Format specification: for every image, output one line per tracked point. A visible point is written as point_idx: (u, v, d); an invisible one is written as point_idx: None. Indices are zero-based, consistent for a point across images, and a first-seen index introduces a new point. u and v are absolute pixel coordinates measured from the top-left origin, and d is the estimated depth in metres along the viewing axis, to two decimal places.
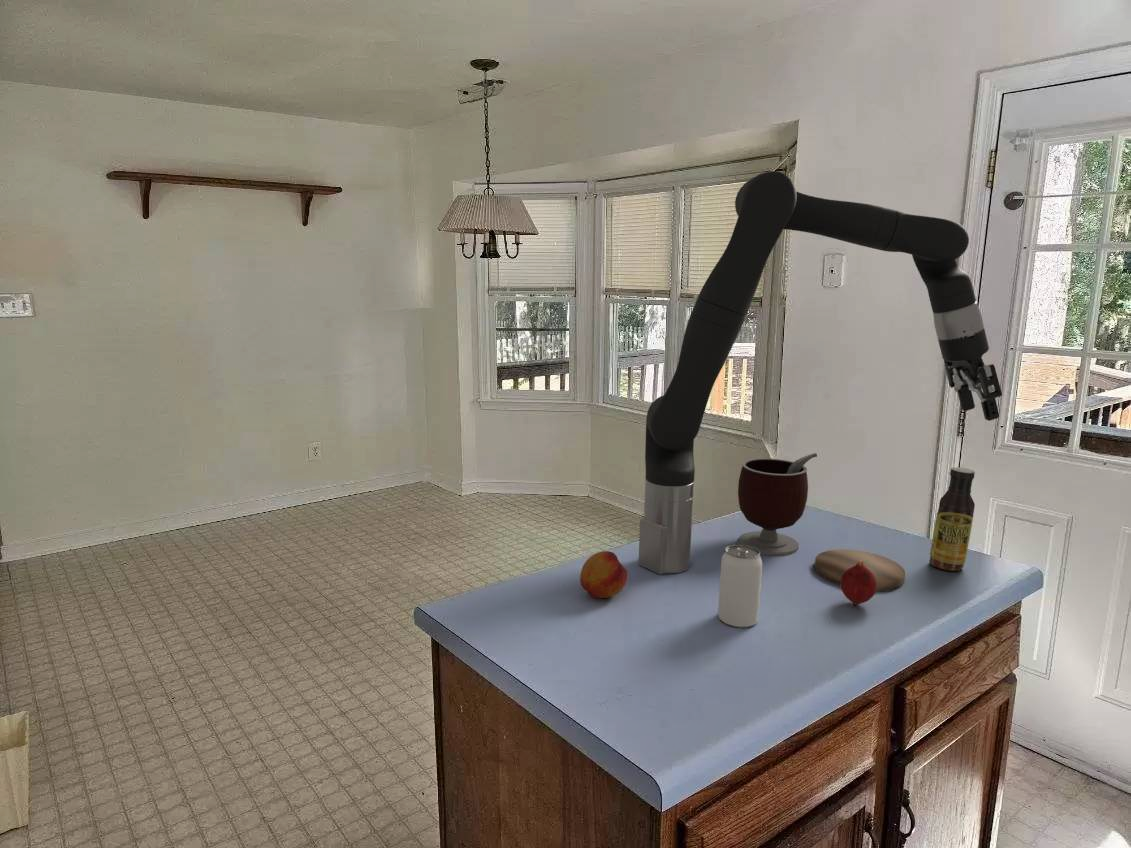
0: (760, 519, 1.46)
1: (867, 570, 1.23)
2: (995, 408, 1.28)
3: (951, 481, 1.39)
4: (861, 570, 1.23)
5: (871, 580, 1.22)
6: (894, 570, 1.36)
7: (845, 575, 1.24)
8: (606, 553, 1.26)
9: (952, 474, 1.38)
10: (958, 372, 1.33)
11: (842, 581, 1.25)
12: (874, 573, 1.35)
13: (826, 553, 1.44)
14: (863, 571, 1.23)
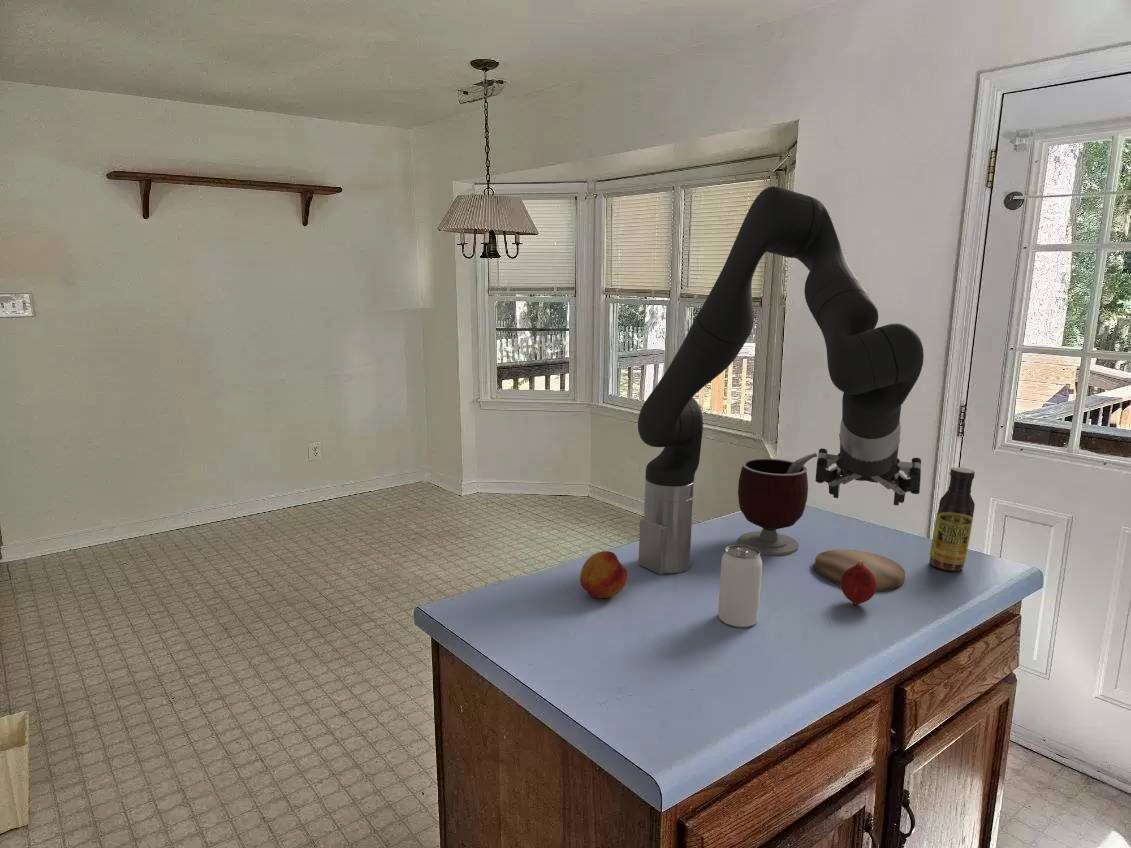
0: (760, 519, 1.46)
1: (867, 570, 1.23)
2: (829, 488, 1.11)
3: (951, 481, 1.39)
4: (861, 570, 1.23)
5: (871, 580, 1.22)
6: (894, 570, 1.36)
7: (845, 575, 1.24)
8: (606, 553, 1.26)
9: (952, 474, 1.38)
10: None
11: (842, 581, 1.25)
12: (874, 573, 1.35)
13: (826, 553, 1.44)
14: (863, 571, 1.23)
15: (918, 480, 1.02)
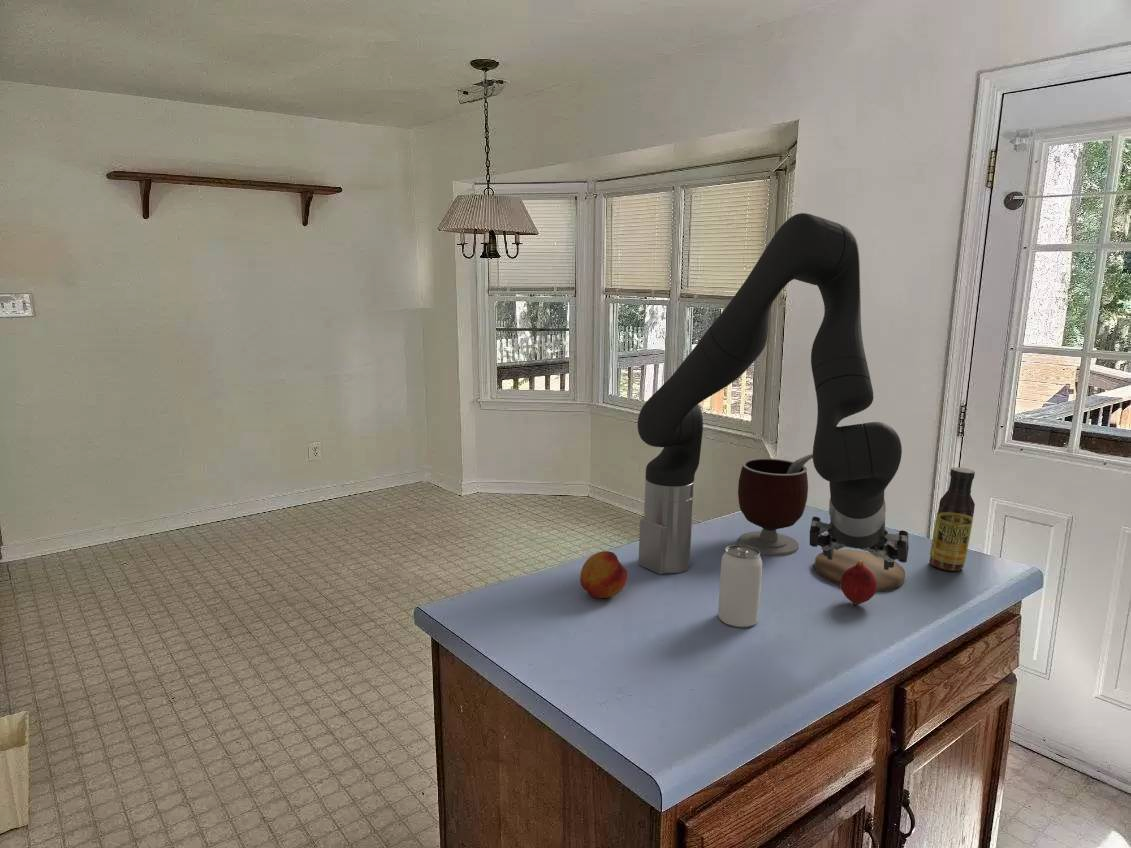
0: (760, 519, 1.46)
1: (867, 570, 1.23)
2: (823, 550, 1.18)
3: (951, 481, 1.39)
4: (861, 570, 1.23)
5: (871, 580, 1.22)
6: (894, 570, 1.36)
7: (845, 575, 1.24)
8: (606, 553, 1.26)
9: (952, 474, 1.38)
10: None
11: (842, 581, 1.25)
12: (874, 573, 1.35)
13: None
14: (863, 571, 1.23)
15: (904, 551, 1.08)
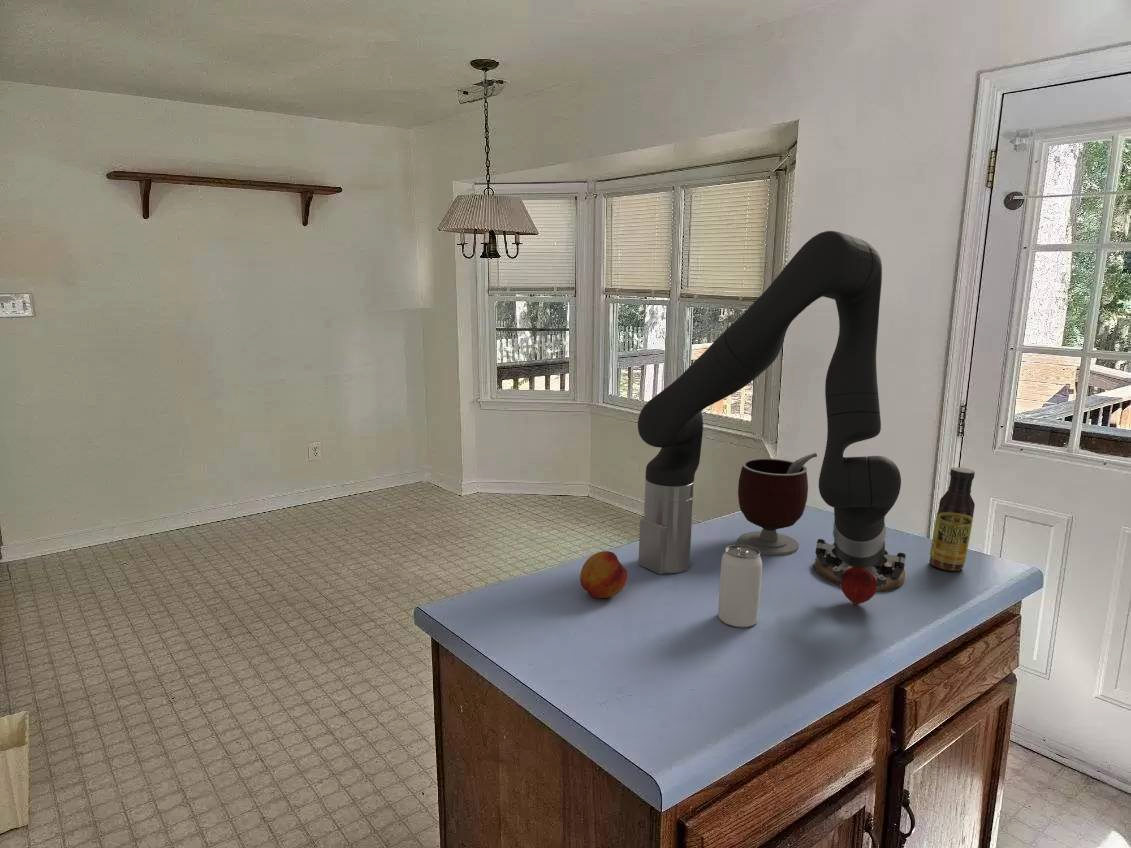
0: (760, 519, 1.46)
1: (867, 570, 1.23)
2: (833, 570, 1.26)
3: (951, 481, 1.39)
4: (862, 570, 1.23)
5: (871, 580, 1.22)
6: None
7: (845, 575, 1.24)
8: (606, 553, 1.26)
9: (952, 474, 1.38)
10: None
11: (842, 581, 1.25)
12: None
13: None
14: (863, 571, 1.23)
15: (900, 572, 1.17)
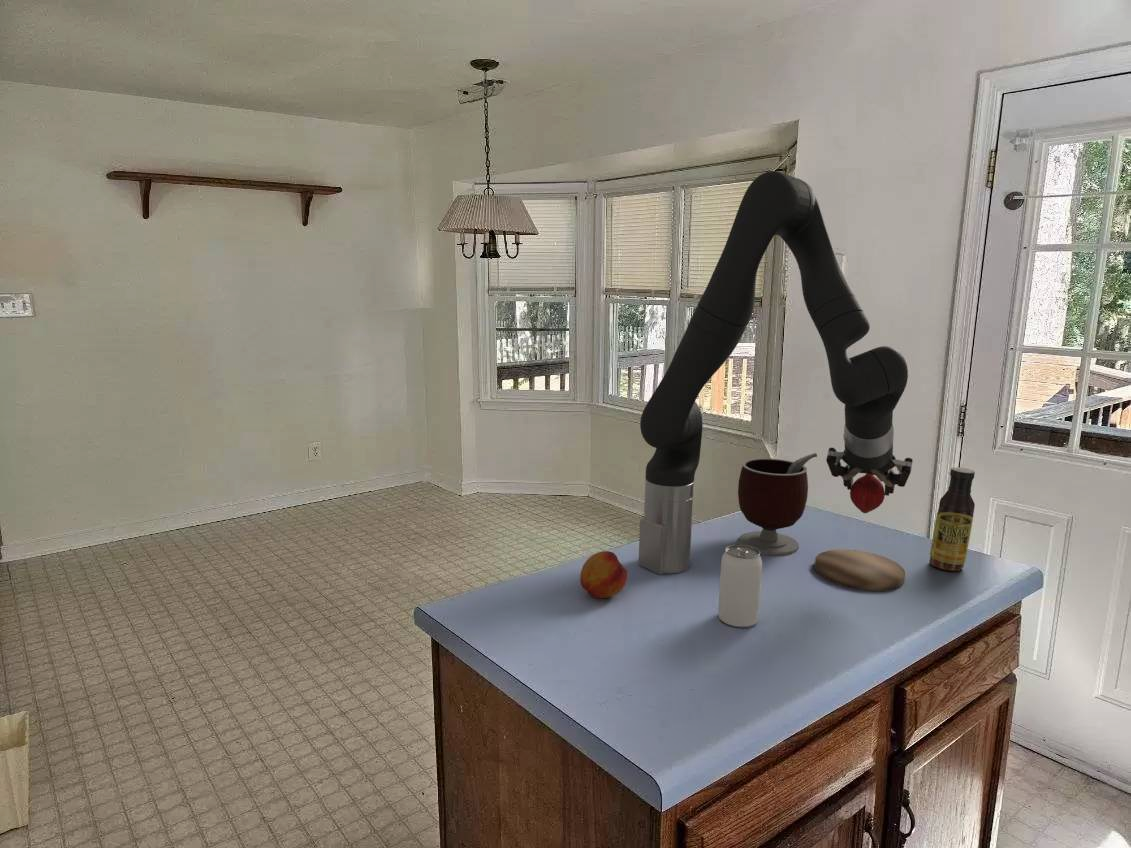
0: (760, 519, 1.46)
1: (876, 479, 1.30)
2: (843, 481, 1.33)
3: (951, 481, 1.39)
4: (870, 479, 1.29)
5: (880, 488, 1.29)
6: (894, 570, 1.36)
7: (854, 484, 1.31)
8: (606, 553, 1.26)
9: (952, 474, 1.38)
10: None
11: (852, 490, 1.31)
12: (874, 573, 1.35)
13: (826, 553, 1.44)
14: (872, 480, 1.29)
15: (907, 476, 1.23)
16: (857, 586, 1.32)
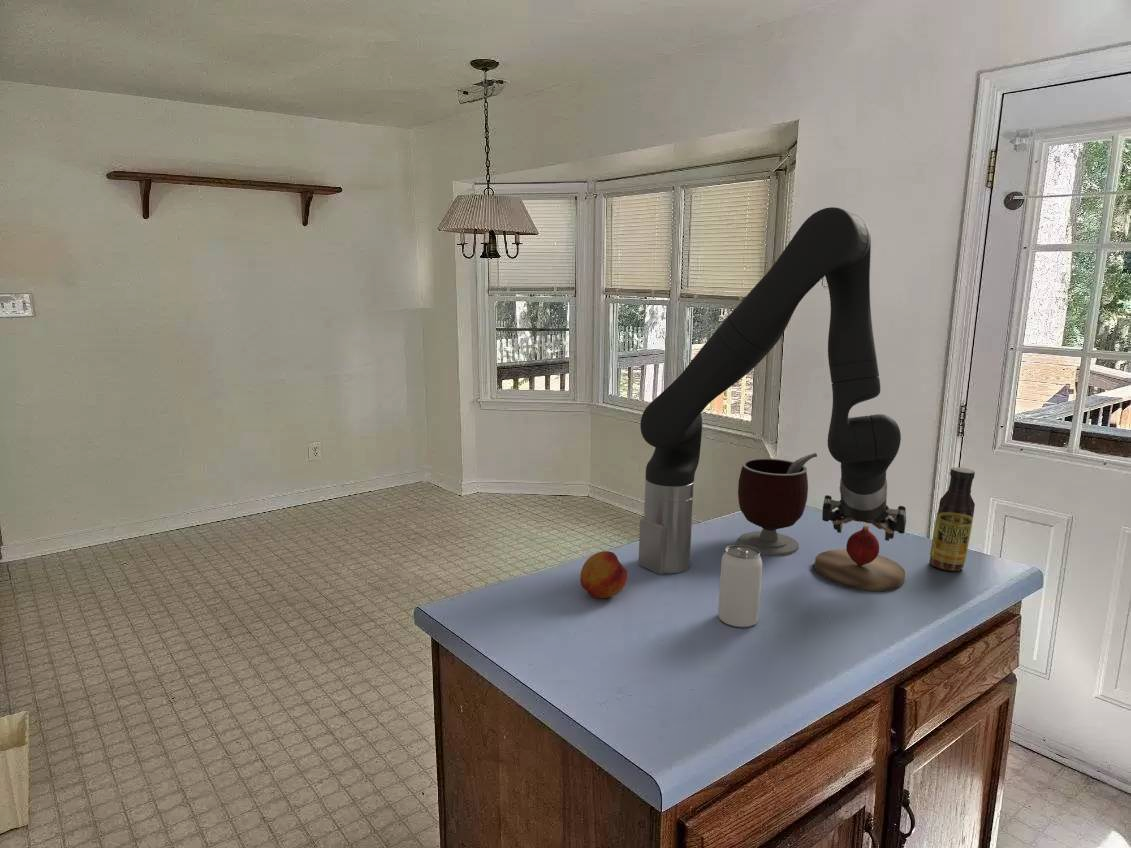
0: (760, 519, 1.46)
1: (871, 534, 1.36)
2: (833, 525, 1.39)
3: (951, 481, 1.39)
4: (866, 535, 1.35)
5: (875, 544, 1.35)
6: (894, 570, 1.36)
7: (851, 538, 1.37)
8: (606, 553, 1.26)
9: (952, 474, 1.38)
10: None
11: (848, 544, 1.37)
12: (874, 573, 1.35)
13: (826, 553, 1.44)
14: (868, 535, 1.35)
15: (902, 524, 1.29)
16: (857, 586, 1.32)
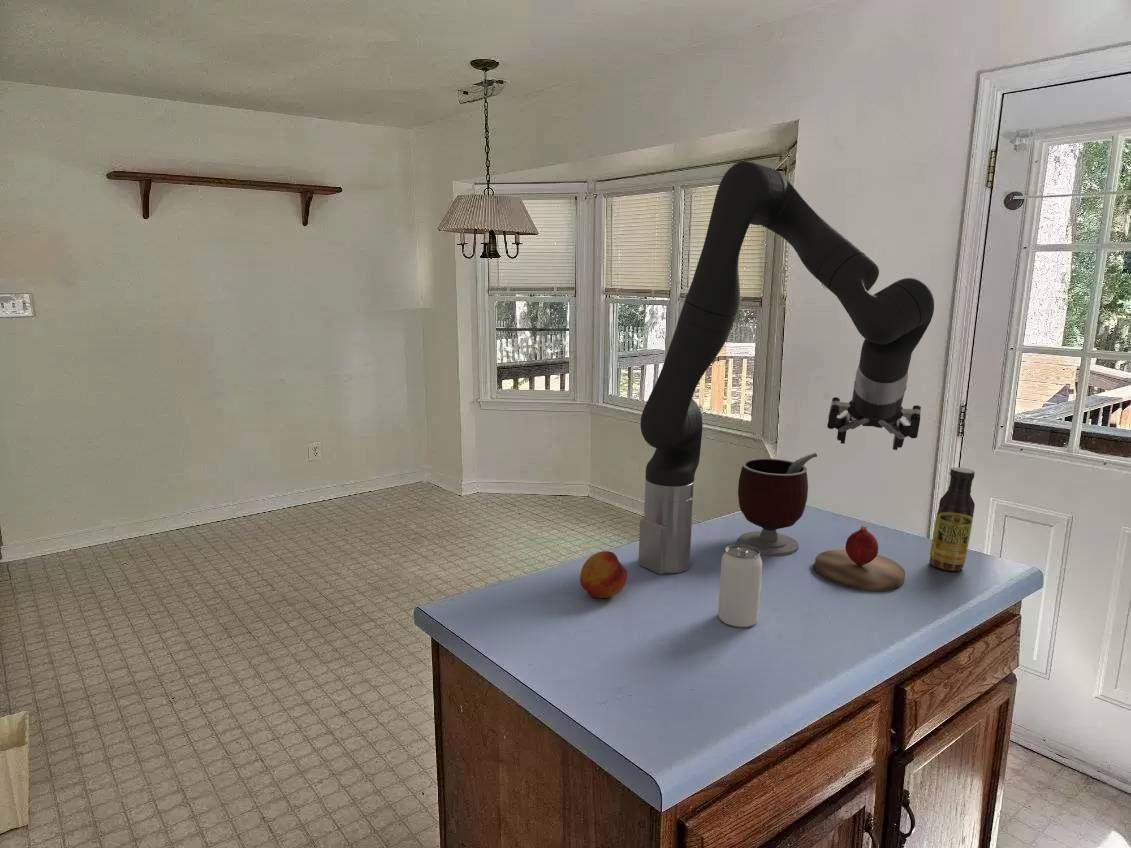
0: (760, 519, 1.46)
1: (870, 534, 1.36)
2: (837, 434, 1.28)
3: (951, 481, 1.39)
4: (865, 534, 1.36)
5: (873, 543, 1.35)
6: (894, 570, 1.36)
7: (849, 539, 1.37)
8: (606, 553, 1.26)
9: (952, 474, 1.38)
10: None
11: (847, 544, 1.37)
12: (874, 573, 1.35)
13: (826, 553, 1.44)
14: (866, 535, 1.36)
15: (917, 425, 1.18)
16: (857, 586, 1.32)
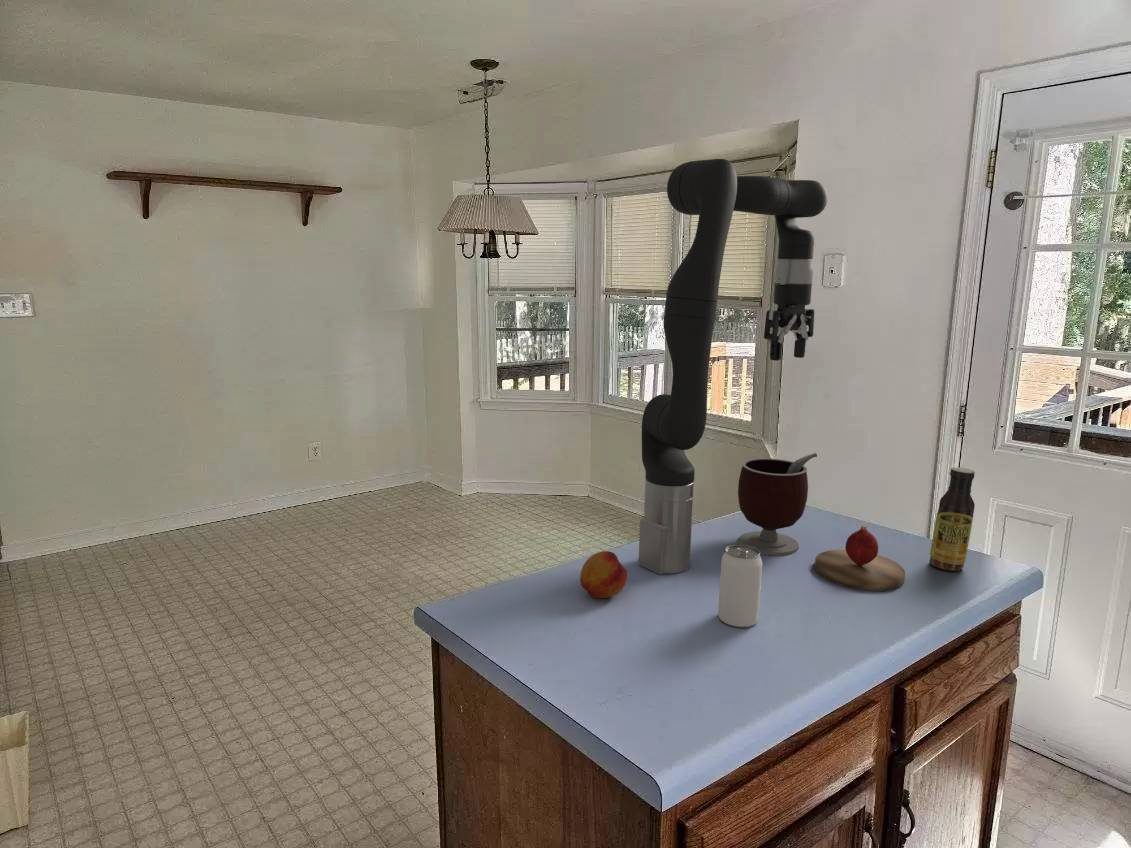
0: (760, 519, 1.46)
1: (870, 534, 1.36)
2: (775, 350, 1.51)
3: (951, 481, 1.39)
4: (865, 534, 1.36)
5: (873, 543, 1.35)
6: (894, 570, 1.36)
7: (849, 539, 1.37)
8: (606, 553, 1.26)
9: (952, 474, 1.38)
10: None
11: (847, 544, 1.37)
12: (874, 573, 1.35)
13: (826, 553, 1.44)
14: (866, 535, 1.36)
15: (813, 319, 1.56)
16: (857, 586, 1.32)
